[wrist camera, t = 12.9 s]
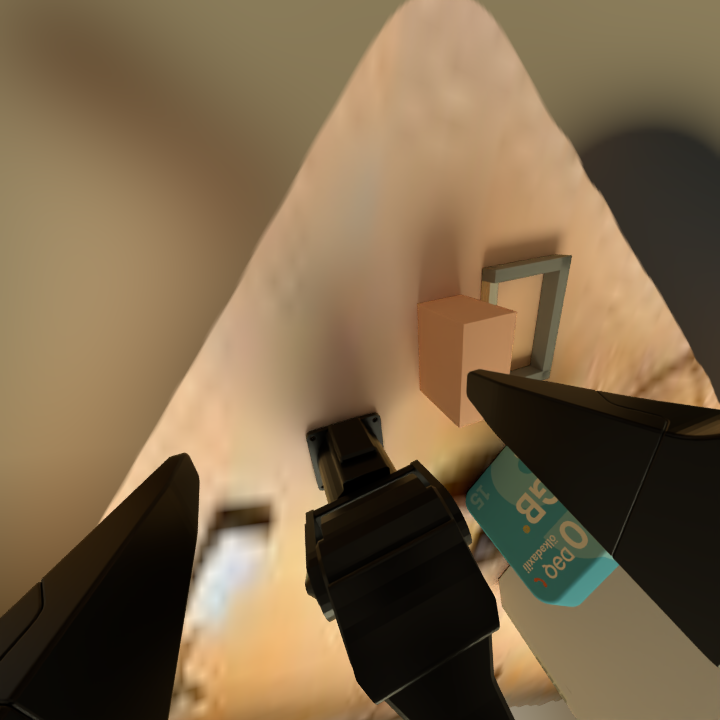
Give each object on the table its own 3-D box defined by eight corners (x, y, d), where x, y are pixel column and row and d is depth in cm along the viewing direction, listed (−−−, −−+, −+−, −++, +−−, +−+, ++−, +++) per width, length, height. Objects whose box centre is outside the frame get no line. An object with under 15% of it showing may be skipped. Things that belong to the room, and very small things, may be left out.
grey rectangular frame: (536, 371, 31) (549, 378, 29) (474, 390, 29) (485, 397, 28) (555, 254, 26) (572, 255, 24) (482, 268, 24) (495, 270, 23)
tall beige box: (457, 378, 28) (504, 413, 23) (419, 389, 27) (459, 428, 22) (460, 294, 24) (517, 311, 19) (416, 303, 23) (463, 324, 18)
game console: (616, 459, 44) (856, 610, 26) (512, 588, 49) (652, 781, 32) (598, 451, 41) (850, 613, 24) (490, 588, 47) (629, 799, 29)
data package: (524, 421, 33) (648, 508, 23) (544, 434, 35) (665, 519, 25) (459, 500, 35) (546, 614, 25) (481, 508, 37) (569, 616, 27)
